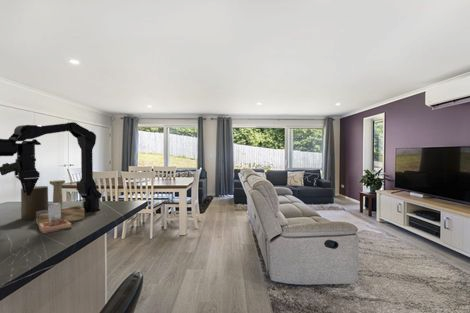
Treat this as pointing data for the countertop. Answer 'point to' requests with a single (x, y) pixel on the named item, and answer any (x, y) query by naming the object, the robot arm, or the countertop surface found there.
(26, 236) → the countertop surface
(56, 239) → the countertop surface
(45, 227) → the rack tray
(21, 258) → the countertop surface
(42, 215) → the socket block
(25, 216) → the pillar candle
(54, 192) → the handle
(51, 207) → the grey tall cylinder
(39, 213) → the grey rectangular metal block
